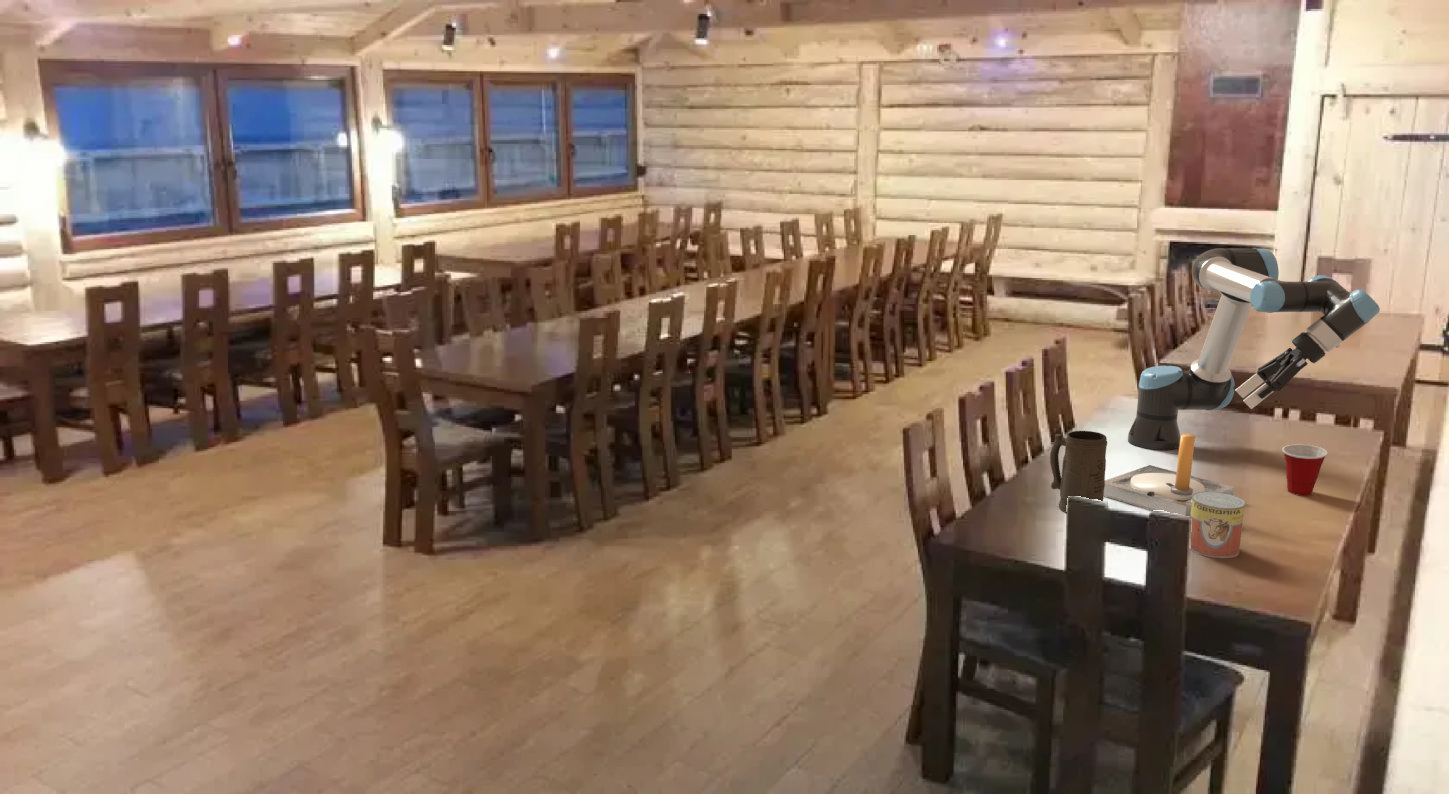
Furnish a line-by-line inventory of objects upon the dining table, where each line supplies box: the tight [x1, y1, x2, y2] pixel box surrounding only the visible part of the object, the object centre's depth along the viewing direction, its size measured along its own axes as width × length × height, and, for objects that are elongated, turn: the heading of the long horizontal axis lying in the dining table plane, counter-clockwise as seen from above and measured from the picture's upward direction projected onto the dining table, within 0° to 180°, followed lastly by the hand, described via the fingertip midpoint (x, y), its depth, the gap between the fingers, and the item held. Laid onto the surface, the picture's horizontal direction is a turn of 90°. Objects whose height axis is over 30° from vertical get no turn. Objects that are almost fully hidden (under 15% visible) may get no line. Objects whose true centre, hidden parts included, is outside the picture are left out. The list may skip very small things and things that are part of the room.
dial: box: [1130, 433, 1204, 500], centre depth 294 cm, size 19×18×16 cm
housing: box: [1103, 464, 1235, 516], centre depth 296 cm, size 24×24×4 cm
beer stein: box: [1049, 430, 1108, 513], centre depth 287 cm, size 15×11×20 cm
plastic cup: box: [1281, 443, 1329, 496], centre depth 300 cm, size 11×11×12 cm
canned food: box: [1189, 492, 1246, 559], centre depth 261 cm, size 11×11×12 cm
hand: (1242, 399), depth 281 cm, fingers open, 13 cm apart
